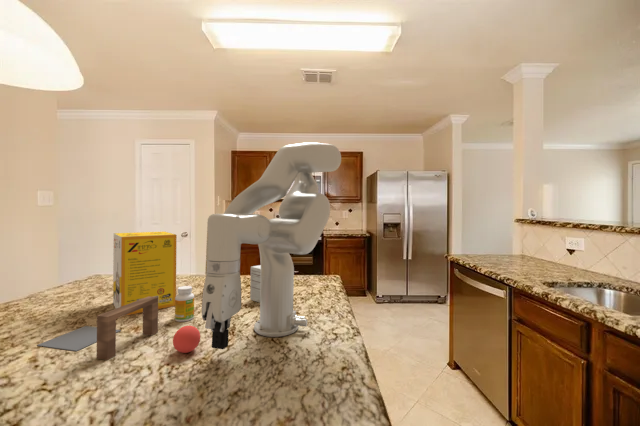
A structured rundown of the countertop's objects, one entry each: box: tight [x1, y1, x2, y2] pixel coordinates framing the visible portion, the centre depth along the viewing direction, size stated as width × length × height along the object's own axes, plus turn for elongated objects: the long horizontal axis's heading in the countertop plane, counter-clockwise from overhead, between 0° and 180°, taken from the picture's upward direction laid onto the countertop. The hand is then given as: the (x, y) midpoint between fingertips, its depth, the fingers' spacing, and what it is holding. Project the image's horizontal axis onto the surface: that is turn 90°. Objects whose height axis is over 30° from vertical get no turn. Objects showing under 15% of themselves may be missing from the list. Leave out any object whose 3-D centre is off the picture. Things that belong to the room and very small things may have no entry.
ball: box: [172, 325, 201, 354], centre depth 70 cm, size 6×6×6 cm
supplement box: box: [249, 264, 261, 304], centre depth 110 cm, size 7×7×13 cm
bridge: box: [96, 296, 159, 361], centre depth 73 cm, size 3×15×10 cm, turn 168°
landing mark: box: [36, 325, 121, 352], centre depth 76 cm, size 12×12×1 cm
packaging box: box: [112, 231, 178, 317], centre depth 102 cm, size 16×16×25 cm
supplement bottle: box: [174, 285, 195, 322], centre depth 90 cm, size 5×5×10 cm
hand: (219, 347), depth 67 cm, fingers closed
